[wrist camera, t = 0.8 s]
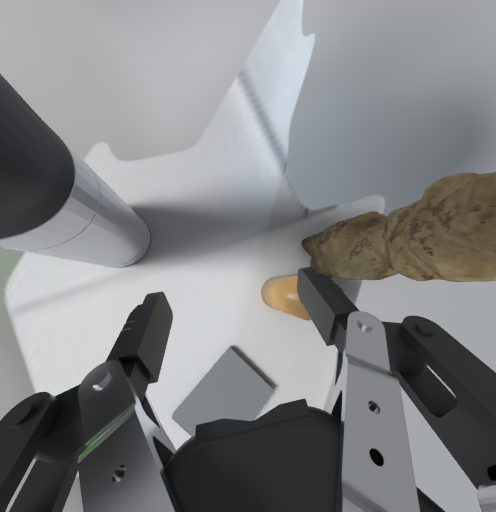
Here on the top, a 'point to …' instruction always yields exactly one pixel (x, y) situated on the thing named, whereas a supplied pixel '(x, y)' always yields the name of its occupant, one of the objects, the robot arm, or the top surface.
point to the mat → (224, 394)
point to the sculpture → (417, 237)
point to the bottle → (284, 296)
